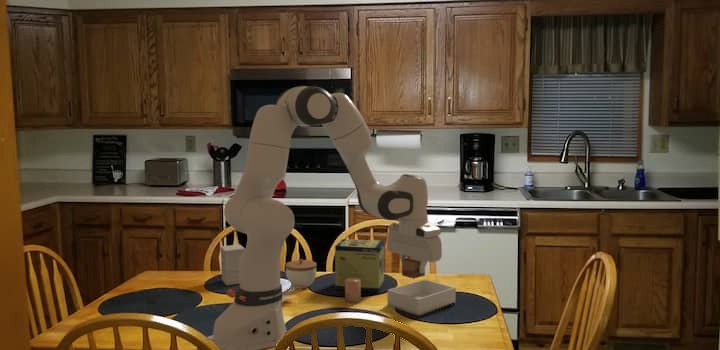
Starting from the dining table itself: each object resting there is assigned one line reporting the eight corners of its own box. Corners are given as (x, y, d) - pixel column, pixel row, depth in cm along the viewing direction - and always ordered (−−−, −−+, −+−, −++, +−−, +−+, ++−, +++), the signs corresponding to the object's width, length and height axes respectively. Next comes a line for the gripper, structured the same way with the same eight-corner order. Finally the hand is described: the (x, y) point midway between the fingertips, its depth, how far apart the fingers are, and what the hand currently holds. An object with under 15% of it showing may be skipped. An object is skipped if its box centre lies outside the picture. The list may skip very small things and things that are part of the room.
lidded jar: (323, 284, 225) (322, 257, 224) (304, 292, 216) (303, 264, 215) (298, 279, 231) (298, 253, 230) (279, 287, 222) (279, 260, 221)
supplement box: (241, 277, 234) (240, 243, 232) (246, 283, 227) (245, 248, 225) (221, 280, 231) (220, 245, 229) (225, 285, 224) (224, 250, 222)
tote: (455, 303, 204) (455, 287, 203) (418, 315, 193) (418, 299, 192) (424, 293, 214) (424, 279, 213) (387, 305, 202) (387, 289, 202)
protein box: (379, 292, 215) (379, 247, 213) (334, 290, 218) (334, 245, 216) (384, 283, 225) (384, 240, 223) (341, 281, 229) (341, 238, 227)
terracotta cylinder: (352, 304, 203) (352, 283, 202) (342, 301, 207) (341, 280, 206) (363, 301, 206) (363, 280, 206) (353, 297, 210) (353, 277, 209)
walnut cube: (413, 278, 196) (413, 262, 195) (402, 275, 200) (401, 259, 199) (424, 275, 199) (424, 259, 199) (413, 272, 203) (413, 256, 202)
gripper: (382, 223, 203) (382, 265, 205) (430, 233, 188) (430, 279, 190) (396, 220, 207) (396, 262, 209) (445, 230, 192) (444, 275, 194)
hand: (413, 270), depth 199 cm, fingers closed on walnut cube, 5 cm apart
